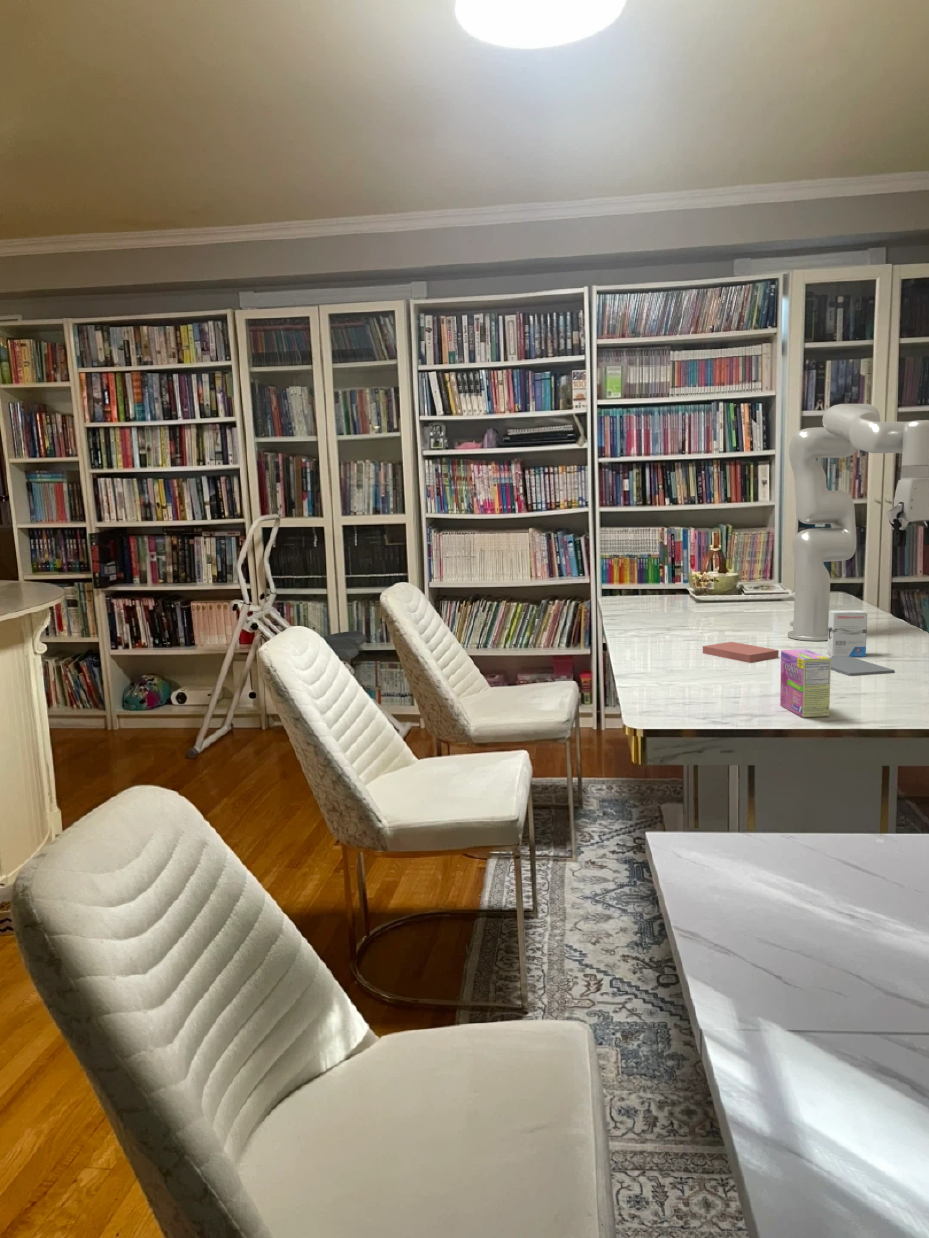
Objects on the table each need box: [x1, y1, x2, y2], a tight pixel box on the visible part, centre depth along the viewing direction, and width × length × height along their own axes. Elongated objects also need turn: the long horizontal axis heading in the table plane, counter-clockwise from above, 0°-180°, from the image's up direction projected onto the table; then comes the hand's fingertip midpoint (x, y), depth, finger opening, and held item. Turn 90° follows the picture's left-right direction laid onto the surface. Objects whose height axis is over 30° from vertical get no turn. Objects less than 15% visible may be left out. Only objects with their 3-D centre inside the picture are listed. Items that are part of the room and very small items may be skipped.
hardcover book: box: [702, 641, 780, 664], centre depth 239 cm, size 16×11×2 cm
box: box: [779, 648, 832, 718], centre depth 181 cm, size 10×6×12 cm, turn 5°
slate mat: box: [828, 656, 896, 677], centre depth 223 cm, size 18×12×1 cm, turn 11°
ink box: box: [826, 609, 868, 658], centre depth 236 cm, size 8×5×12 cm, turn 84°
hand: (914, 545), depth 217 cm, fingers open, 9 cm apart
